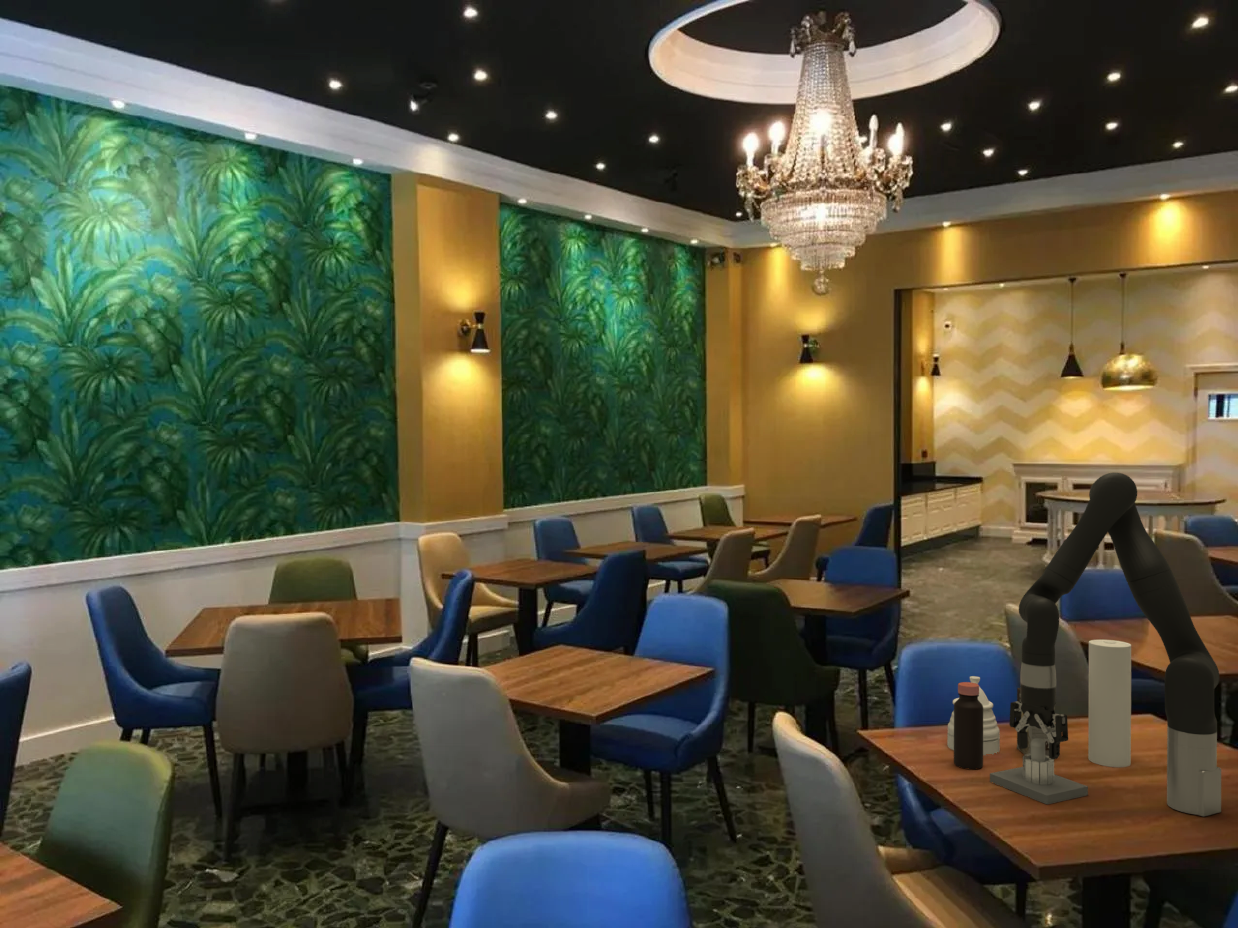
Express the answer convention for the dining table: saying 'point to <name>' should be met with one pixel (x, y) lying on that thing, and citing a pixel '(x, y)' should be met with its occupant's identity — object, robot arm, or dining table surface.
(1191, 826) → the dining table surface
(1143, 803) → the dining table surface
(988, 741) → the honey pot
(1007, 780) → the piston block
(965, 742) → the bottle
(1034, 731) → the coffee box
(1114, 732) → the cylinder container
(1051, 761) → the ring
